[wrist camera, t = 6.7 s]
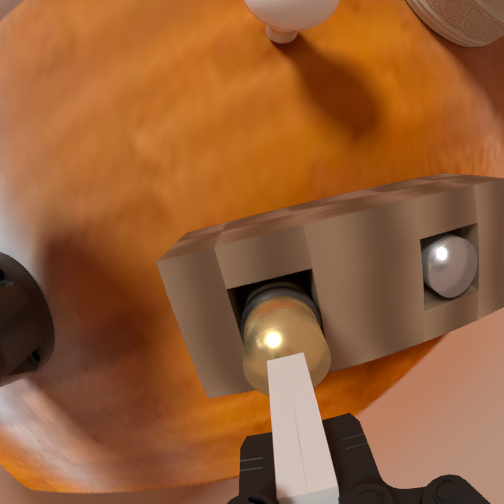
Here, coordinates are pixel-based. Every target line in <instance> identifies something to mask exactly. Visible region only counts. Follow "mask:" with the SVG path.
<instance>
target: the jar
mask: <svg viewBox="0 0 504 504" xmlns="http://www.w3.org/2000/svg"><path fill="white" fill-rule="evenodd" d="M406 1H407V3H408V4H409V5H410V7H411V8H412V9H413V11H414V12H415V13H416V14H417V15H418V16H419V18H420V19H421V20H422V21H423V22H424V23H425V24H427V25H428V26H429V27H430V28H431V29H432V30H434V31H435V32H436V33H438V34H439V35H440V36H442V37H443V38H445V39H447V40H449V41H451V42H453V43H455V44H457V45H460V46H464V47H477V46H478V47H479V46H485V45H488V44H490V43H493V42H494V41H495V40H496V39H498V38H500V37H502V36H504V0H406Z"/></svg>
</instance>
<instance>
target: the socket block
mask: <svg viewBox="0 0 504 504" xmlns="http://www.w3.org/2000/svg"><path fill="white" fill-rule="evenodd" d="M444 232H447V233H450V234H452V235H455V236H458V237H460V238H463V239H465V240H467V241H469V242H470V243H471V244H472V245H473V246H474V248H475V250H476V254H477V270H476V274H475V276H474V279H473V281H472V283H471V284H470V286H469V287H468V288H467V289H466V290H465V291H464V292H463V293H461V294H460V295H458V296H455V297H444V296H442V295H440V294H439V293H437V292H436V291H435V290H433V289H432V288H431V287H429V286H428V285H426V284H425V283H423V270H422V257H421V246H420V239H423V238H426V237H430V236H433V235H437V234H440V233H444ZM156 263H157V266H158V269H159V272H160V275H161V278H162V281H163V284H164V287H165V290H166V293H167V295H168V298H169V301H170V304H171V307H172V309H173V312H174V315H175V318H176V320H177V323H178V326H179V328H180V331H181V333H182V336H183V339H184V341H185V344H186V346H187V349H188V351H189V354H190V356H191V359H192V361H193V364H194V366H195V368H196V371H197V373H198V376H199V378H200V380H201V383H202V385H203V387H204V390H205V392H206V394H207V396H208V398H212V397H218V396H225V395H231V394H237V393H242V392H248V391H253V390H256V389H255V388H254V387H253V386H252V385H251V384H250V383H249V382H248V380H247V379H246V376H245V374H244V370H243V353H244V342H243V339H242V335H241V318H242V313H243V310H244V307H245V303H246V291H245V288H244V285H246V284H250V283H254V282H259V281H263V280H267V279H271V278H275V277H279V276H283V275H287V274H291V273H295V272H299V271H300V273H301V277H302V282H303V287H304V291H305V293H306V295H307V296H308V297H309V298H310V299H311V300H312V302H313V303H314V305H315V308H316V310H317V312H318V314H319V317H320V323H321V326H320V328H321V331H322V333H323V335H324V338H325V340H326V343H327V345H328V347H329V350H330V354H331V364H330V368H329V370H328V373H331V372H335V371H338V370H342V369H345V368H349V367H352V366H355V365H359V364H362V363H365V362H368V361H372V360H375V359H378V358H381V357H384V356H387V355H390V354H393V353H396V352H399V351H401V350H404V349H407V348H410V347H413V346H415V345H418V344H421V343H423V342H426V341H428V340H431V339H434V338H436V337H439V336H441V335H443V334H446V333H448V332H451V331H453V330H455V329H458V328H460V327H462V326H465V325H467V324H469V323H471V322H473V321H476V320H478V319H480V318H482V317H484V316H487V315H489V314H491V313H493V312H495V311H497V310H499V309H501V308H503V307H504V178H496V177H486V176H475V175H462V174H448V173H441V174H436V175H431V176H426V177H421V178H416V179H411V180H406V181H401V182H397V183H392V184H387V185H382V186H378V187H373V188H369V189H364V190H359V191H355V192H350V193H346V194H342V195H337V196H333V197H328V198H324V199H320V200H315V201H311V202H307V203H303V204H298V205H294V206H290V207H286V208H282V209H278V210H274V211H270V212H266V213H262V214H258V215H254V216H250V217H246V218H242V219H238V220H234V221H230V222H226V223H222V224H218V225H215V226H211V227H207V228H203V229H199V230H196V231H192V232H188V233H186V234H185V235H184V236H183V237H182V238H181V239H180V240H179V241H178V242H177V243H176V244H175V245H174V246H173V247H171V248H170V249H169V250H168V251H167V252H166V253H165V254H164V255H163V256H162V257H161V258H160V259H159V260H158V261H157V262H156Z"/></svg>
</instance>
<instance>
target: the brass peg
mask: <svg viewBox="0 0 504 504" xmlns="http://www.w3.org/2000/svg"><path fill="white" fill-rule="evenodd" d="M320 326H321V323H320V317H319V314H318V312H317V310H316V308H315V305H314V303H313V302H312V300H311V299H310V298H309V297H308V296H307V295H306V293H305V291H304V289H303V287H302V284H301V283H300V281H299V280H298V279H297V278H296V277H295V276H293V275H292V274H287V275H283V276H279V277H275V278H271V279H267V280H263V281H259V282H254V283H250V285H249V287H248V289H247V292H246V303H245V307H244V310H243V313H242V318H241V335H242V339H243V342H244V353H243V370H244V374H245V376H246V379H247V380H248V382H249V383H250V384H251V385H252V386H253V387H254V388H255V389H256V390H258V391H259V392H261V393H263V394H265V395H268V396H270V395H269V382H268V369H267V361H268V360H273V359H277V358H282V357H286V356H290V355H294V354H298V353H304V356H305V360H306V364H307V367H308V371H309V375H310V379H311V382H312V386H313V388H315V387H316V386H317V385H319V384H320V383H321V381H322V380H323V379H324V378H325V376H326V375H327V373H328V370H329V368H330V364H331V354H330V350H329V347H328V345H327V343H326V340H325V338H324V335H323V333H322V331H321V328H320Z"/></svg>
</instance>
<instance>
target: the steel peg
mask: <svg viewBox="0 0 504 504" xmlns="http://www.w3.org/2000/svg"><path fill="white" fill-rule="evenodd" d="M420 246H421V257H422V270H423V283H425V284H426V285H428V286H429V287H431V288H432V289H433V290H435V291H436V292H437V293H439V294H440V295H442V296H444V297H455V296H458V295H460V294H461V293H463V292H464V291H465V290H466V289H467V288H468V287H469V286H470V284H471V283H472V281H473V279H474V276H475V274H476V270H477V254H476V250H475V248H474V246H473V245H472V244H471V243H470V242H469V241H467V240H465V239H463V238H460V237H458V236H455V235H452V234H450V233H447V232H444V233H440V234H437V235H433V236H430V237H426V238H423V239H420Z"/></svg>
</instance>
